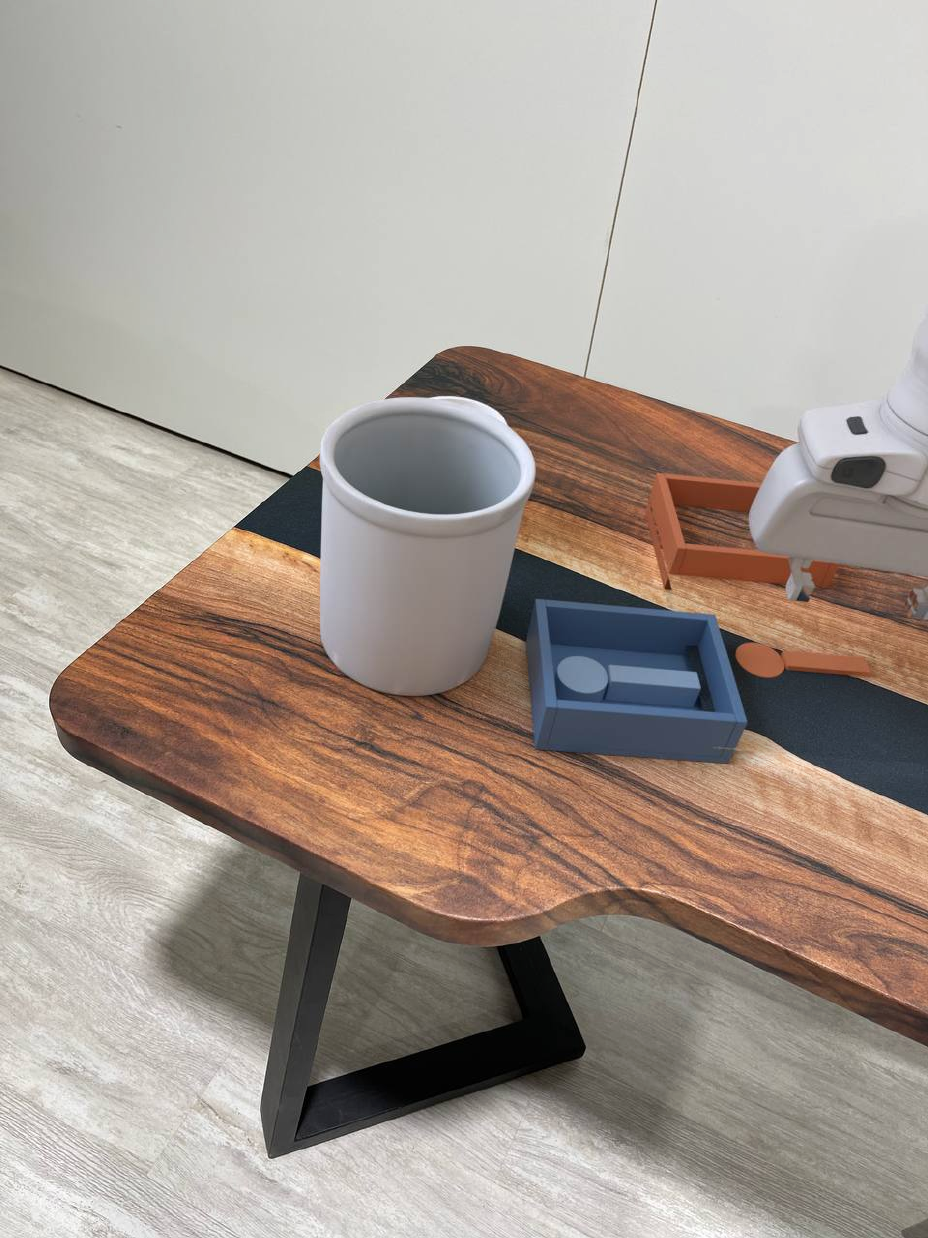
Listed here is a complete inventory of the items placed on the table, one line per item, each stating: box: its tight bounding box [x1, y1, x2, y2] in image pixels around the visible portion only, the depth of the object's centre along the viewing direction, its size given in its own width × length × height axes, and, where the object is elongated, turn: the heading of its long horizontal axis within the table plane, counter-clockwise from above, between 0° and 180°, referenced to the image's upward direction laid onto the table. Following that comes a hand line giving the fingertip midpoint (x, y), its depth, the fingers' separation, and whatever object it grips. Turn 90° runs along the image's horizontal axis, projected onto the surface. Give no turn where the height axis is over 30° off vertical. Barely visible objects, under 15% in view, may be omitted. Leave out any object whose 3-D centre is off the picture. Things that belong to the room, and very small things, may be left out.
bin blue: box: [525, 598, 748, 765], centre depth 77 cm, size 15×12×5 cm
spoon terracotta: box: [734, 642, 872, 679], centre depth 83 cm, size 11×4×2 cm, turn 91°
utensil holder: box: [319, 396, 537, 697], centre depth 75 cm, size 15×15×18 cm
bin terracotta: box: [644, 472, 840, 590], centre depth 94 cm, size 15×12×5 cm
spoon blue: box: [554, 656, 702, 708], centre depth 78 cm, size 11×4×2 cm, turn 91°
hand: (855, 605), depth 78 cm, fingers open, 8 cm apart
